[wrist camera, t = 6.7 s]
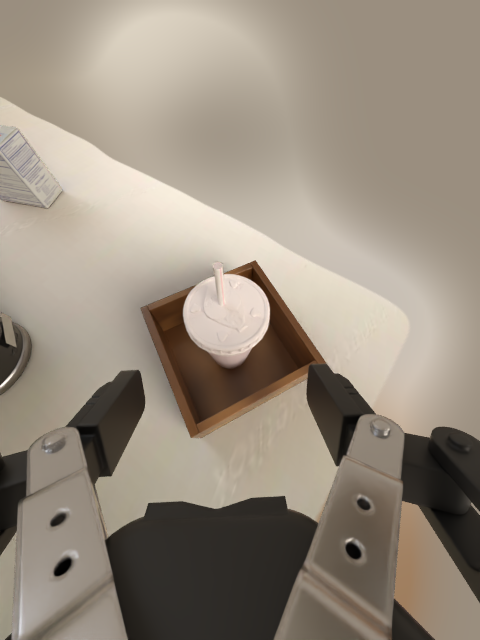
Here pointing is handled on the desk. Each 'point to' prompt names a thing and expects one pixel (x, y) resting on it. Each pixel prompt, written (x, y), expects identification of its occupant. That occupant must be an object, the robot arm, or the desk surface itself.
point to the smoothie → (226, 316)
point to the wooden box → (221, 383)
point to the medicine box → (24, 172)
